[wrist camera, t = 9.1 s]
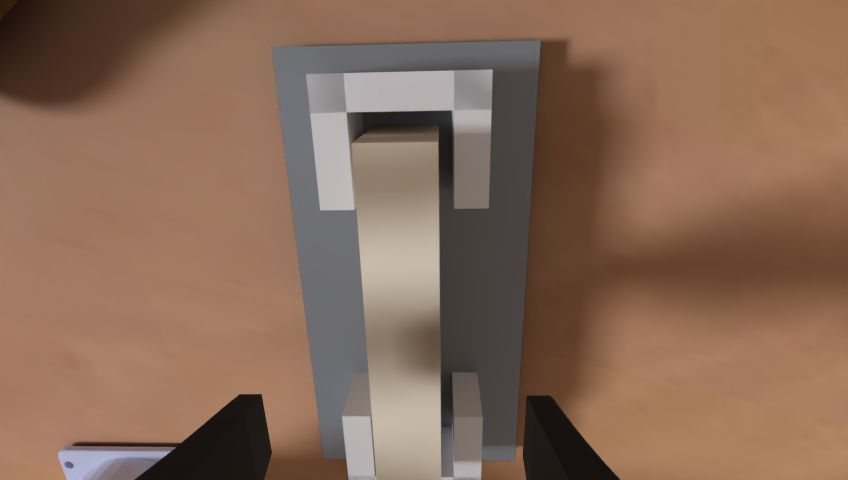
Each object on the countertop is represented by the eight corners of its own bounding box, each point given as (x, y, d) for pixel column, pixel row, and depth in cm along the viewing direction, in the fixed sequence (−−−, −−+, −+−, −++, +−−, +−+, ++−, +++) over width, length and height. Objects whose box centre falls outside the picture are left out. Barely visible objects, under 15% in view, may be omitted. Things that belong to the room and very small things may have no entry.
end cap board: (512, 446, 24) (525, 514, 20) (328, 444, 25) (308, 511, 21) (535, 42, 17) (561, 32, 14) (280, 48, 18) (237, 41, 14)
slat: (441, 413, 22) (441, 502, 18) (391, 412, 22) (378, 501, 18) (438, 124, 18) (438, 142, 13) (375, 125, 18) (351, 143, 13)
